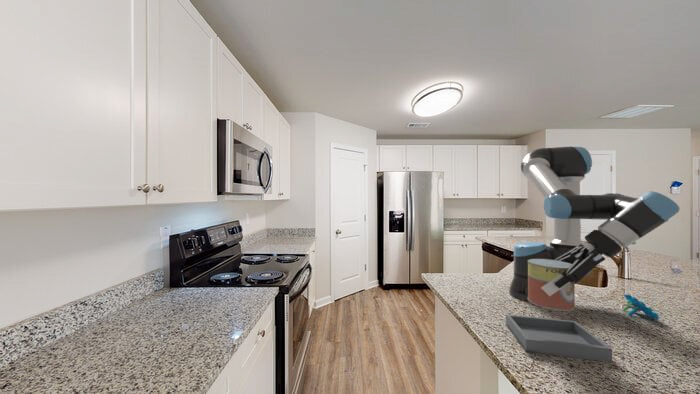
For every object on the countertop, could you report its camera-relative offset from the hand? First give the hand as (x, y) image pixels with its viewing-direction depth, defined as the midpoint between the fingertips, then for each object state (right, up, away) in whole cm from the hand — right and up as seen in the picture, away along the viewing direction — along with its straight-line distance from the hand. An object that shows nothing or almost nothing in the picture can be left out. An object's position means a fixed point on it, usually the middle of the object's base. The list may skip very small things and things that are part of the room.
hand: (541, 285), depth 80 cm
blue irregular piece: (+48, -17, +16) cm, 53 cm away
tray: (+2, -16, -1) cm, 16 cm away
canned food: (+2, -5, -1) cm, 5 cm away
